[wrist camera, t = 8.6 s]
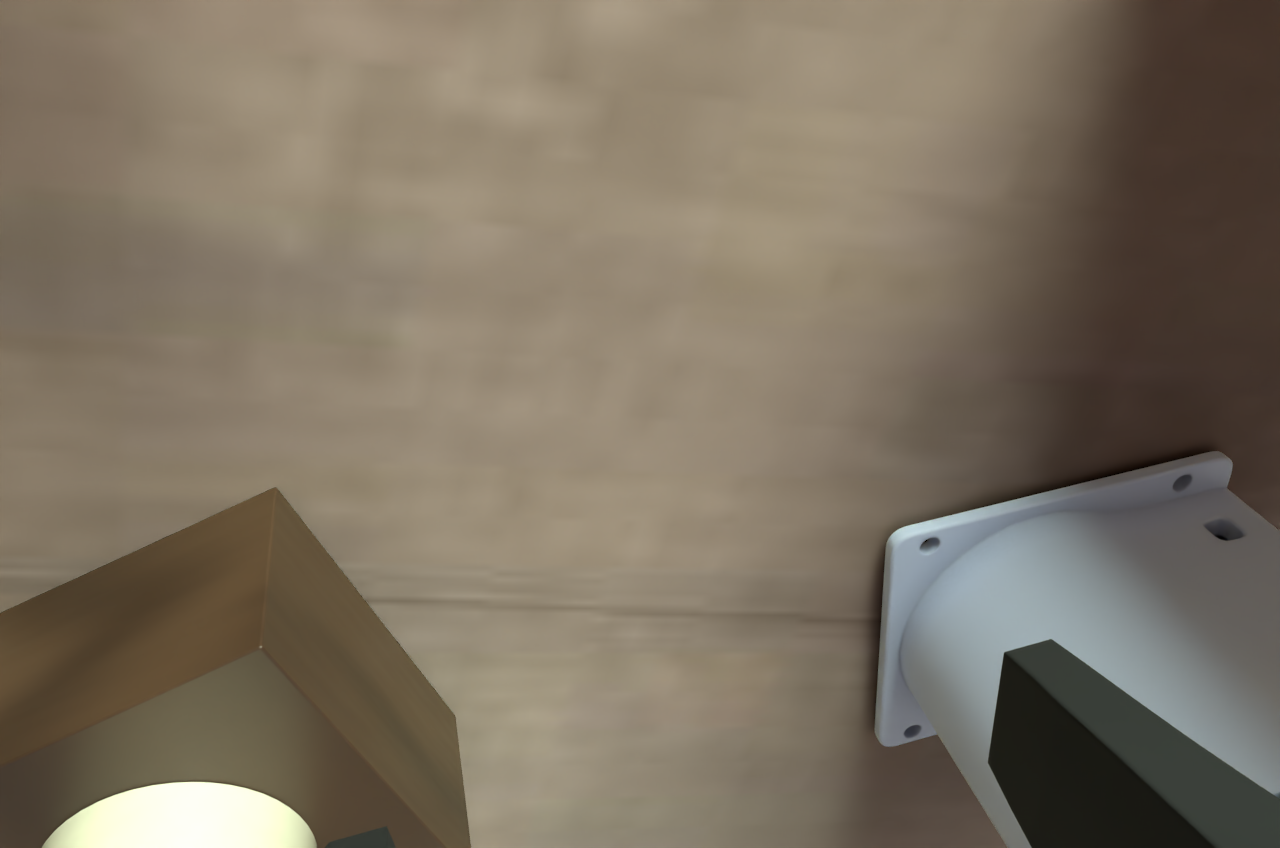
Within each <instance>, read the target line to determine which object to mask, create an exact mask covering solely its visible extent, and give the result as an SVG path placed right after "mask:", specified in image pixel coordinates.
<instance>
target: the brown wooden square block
mask: <svg viewBox="0 0 1280 848" xmlns="http://www.w3.org/2000/svg"><path fill="white" fill-rule="evenodd" d="M172 782H213V783H222V784H230V785H234V786H239V787H244V788H248V789H251V790H254V791H257V792H261V793H263V794H266V795H268V796H270V797H273V798H275V799H277V800H279V801H280V802H282V803H284V804H285V805H287V806H289V807H290V808H291V809H292V810H294V811H295V812H296V813H297V814H299V815H300V816H301V818H302V819H303V820H304V821H305V822H306V823H307V825H308V826H309V828H310V830H311V831H312V833H313V835H314V837H315V840H316V843H317V848H325V847H326V846H327V844H328V843H329V842H332V841H335V840H339V839H342V838H346V837H350V836H353V835H357V834H360V833H364V832H367V831H371V830H374V829H378V828H381V827H385V826H387V828H388V830H389V833H390V835H391V837H392V840H393V842H394V844H395V847H396V848H471V844H470V836H469V827H468V819H467V811H466V802H465V794H464V786H463V777H462V769H461V761H460V752H459V744H458V736H457V727H456V719H455V715H454V714H453V713H452V711H451V710H450V709H449V707H448V706H447V705H446V704H445V702H444V701H443V700H442V699H441V697H440V696H439V695H438V693H437V692H436V691H435V690H434V688H433V687H432V686H431V684H430V683H429V682H428V681H427V679H426V678H425V677H424V676H423V674H422V673H421V672H420V670H419V669H418V668H417V667H416V665H415V664H414V663H413V661H412V660H411V659H410V658H409V656H408V655H407V654H406V653H405V651H404V650H403V649H402V647H401V646H400V645H399V644H398V642H397V641H396V640H395V638H394V637H393V636H392V635H391V633H390V632H389V631H388V630H387V628H386V627H385V626H384V624H383V623H382V622H381V621H380V619H379V618H378V617H377V615H376V614H375V613H374V612H373V610H372V609H371V608H370V607H369V605H368V604H367V603H366V601H365V600H364V599H363V598H362V596H361V595H360V594H359V593H358V591H357V590H356V589H355V587H354V586H353V585H352V584H351V582H350V581H349V580H348V578H347V577H346V576H345V575H344V573H343V572H342V571H341V570H340V568H339V567H338V566H337V564H336V563H335V562H334V561H333V559H332V558H331V557H330V555H329V554H328V553H327V552H326V550H325V549H324V548H323V547H322V545H321V544H320V543H319V541H318V540H317V539H316V538H315V536H314V535H313V534H312V532H311V531H310V530H309V529H308V527H307V526H306V525H305V524H304V522H303V521H302V520H301V518H300V517H299V516H298V515H297V513H296V512H295V511H294V509H293V508H292V507H291V506H290V504H289V503H288V502H287V501H286V499H285V498H284V497H283V495H282V494H281V493H280V492H279V490H278V489H277V488H273V489H270V490H268V491H266V492H264V493H262V494H259V495H257V496H255V497H253V498H251V499H249V500H246V501H244V502H242V503H240V504H238V505H235V506H233V507H231V508H229V509H227V510H225V511H222V512H220V513H218V514H216V515H214V516H211V517H209V518H207V519H205V520H203V521H200V522H198V523H196V524H194V525H192V526H190V527H187V528H185V529H183V530H181V531H179V532H176V533H174V534H172V535H170V536H168V537H166V538H163V539H161V540H159V541H157V542H155V543H152V544H150V545H148V546H146V547H144V548H142V549H139V550H137V551H135V552H133V553H131V554H128V555H126V556H124V557H122V558H120V559H117V560H115V561H113V562H111V563H109V564H107V565H104V566H102V567H100V568H98V569H96V570H93V571H91V572H89V573H87V574H85V575H83V576H80V577H78V578H76V579H74V580H72V581H69V582H67V583H65V584H63V585H61V586H59V587H56V588H54V589H52V590H50V591H48V592H45V593H43V594H41V595H39V596H37V597H34V598H32V599H30V600H28V601H26V602H24V603H21V604H19V605H17V606H15V607H13V608H10V609H8V610H6V611H4V612H2V613H0V848H42V846H43V845H44V843H45V841H46V840H47V839H48V838H49V837H50V836H51V834H52V833H53V832H54V831H55V830H56V829H57V828H58V827H59V826H60V825H61V824H63V823H64V822H65V821H66V820H67V819H69V818H70V817H72V816H73V815H75V814H76V813H78V812H79V811H81V810H82V809H84V808H86V807H88V806H90V805H92V804H94V803H96V802H98V801H100V800H103V799H105V798H108V797H110V796H113V795H115V794H119V793H122V792H125V791H129V790H132V789H136V788H141V787H146V786H150V785H157V784H164V783H172Z"/></svg>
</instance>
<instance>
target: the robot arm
mask: <svg viewBox="0 0 1280 848" xmlns="http://www.w3.org/2000/svg"><path fill="white" fill-rule="evenodd" d="M1232 467H1233V463H1232V461H1231V459H1229V458H1228V457H1227V456H1225V455H1224V454H1223V453H1221V452H1219V451H1211V452H1207V453H1203V454H1199V455H1195V456H1191V457H1187V458H1183V459H1179V460H1174V461H1170V462H1166V463H1162V464H1158V465H1154V466H1150V467H1146V468H1142V469H1138V470H1134V471H1129V472H1125V473H1121V474H1117V475H1113V476H1109V477H1105V478H1101V479H1097V480H1093V481H1089V482H1084V483H1080V484H1076V485H1072V486H1068V487H1064V488H1060V489H1056V490H1052V491H1048V492H1044V493H1039V494H1035V495H1031V496H1027V497H1023V498H1019V499H1015V500H1011V501H1007V502H1003V503H999V504H994V505H990V506H986V507H982V508H978V509H974V510H970V511H966V512H962V513H958V514H954V515H950V516H945V517H941V518H937V519H933V520H929V521H925V522H921V523H917V524H913V525H909V526H905V527H902V528H900V529H898V530H896V531H895V532H894V533H892V535H891V536H890V537H889V539H888V540H887V544H886V550H885V567H884V583H883V599H882V616H881V632H880V648H879V665H878V681H877V697H876V714H875V730H874V731H875V735H876V737H877V739H878V740H879V742H880V743H881V744H882V745H883V746H887V747H892V746H897V745H901V744H905V743H908V742H912V741H915V740H919V739H922V738H926V737H930V736H933V735H937V734H938V736H939V737H940V739H941V741H942V742H943V744H944V746H945V747H946V749H947V750H948V752H949V754H950V755H951V757H952V758H953V760H954V762H955V763H956V765H957V767H958V768H959V770H960V771H961V773H962V775H963V776H964V778H965V779H966V781H967V783H968V784H969V786H970V787H971V789H972V791H973V792H974V794H975V796H976V797H977V799H978V800H979V802H980V804H981V805H982V807H983V808H984V810H985V812H986V813H987V815H988V817H989V818H990V820H991V821H992V823H993V825H994V826H995V828H996V829H997V831H998V833H999V834H1000V836H1001V837H1002V839H1003V841H1004V842H1005V844H1006V846H1007V847H1008V848H1280V531H1279V530H1278V529H1277V528H1275V527H1274V526H1273V525H1272V524H1270V523H1269V522H1268V521H1267V520H1266V519H1264V518H1263V517H1262V516H1261V515H1259V514H1258V513H1257V512H1256V511H1254V510H1253V509H1252V508H1251V507H1249V506H1248V505H1247V504H1246V503H1244V502H1243V501H1242V500H1241V499H1240V498H1238V497H1237V496H1236V495H1235V494H1233V493H1232V492H1231V491H1230V490H1228V489H1227V486H1228V483H1229V479H1230V476H1231V473H1232ZM929 538H930V539H929ZM927 539H929V540H928V541H927V542H925V543H923V542H924V541H925V540H927ZM922 543H923V544H922ZM325 848H396V847H395V844H394V842H393V840H392V837H391V835H390V833H389V830H388V828H387V826H385V827H381V828H378V829H374V830H371V831H367V832H364V833H360V834H357V835H353V836H350V837H346V838H342V839H339V840H335V841H332V842H329V843H328V844H327V846H326V847H325Z"/></svg>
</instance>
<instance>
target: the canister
mask: <svg viewBox="0 0 1280 848" xmlns="http://www.w3.org/2000/svg"><path fill="white" fill-rule="evenodd" d="M42 848H317V843H316V840H315V837H314V835H313V833H312V831H311V830H310V828H309V826H308V825H307V823H306V822H305V821H304V820H303V819H302V818H301V816H300V815H299V814H297V813H296V812H295V811H294V810H292V809H291V808H290V807H289V806H287V805H285V804H284V803H282V802H280V801H279V800H277V799H275V798H273V797H270V796H268V795H266V794H263V793H261V792H257V791H254V790H251V789H248V788H244V787H239V786H234V785H230V784H222V783H213V782H172V783H164V784H157V785H150V786H146V787H141V788H136V789H132V790H129V791H125V792H122V793H119V794H115V795H113V796H110V797H108V798H105V799H103V800H100V801H98V802H96V803H94V804H92V805H90V806H88V807H86V808H84V809H82V810H81V811H79V812H78V813H76V814H75V815H73V816H72V817H70V818H69V819H67V820H66V821H65V822H64V823H63V824H61V825H60V826H59V827H58V828H57V829H56V830H55V831H54V832H53V833H52V834H51V836H50V837H49V838H48V839H47V840H46V841H45V843H44V845H43V846H42Z"/></svg>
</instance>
